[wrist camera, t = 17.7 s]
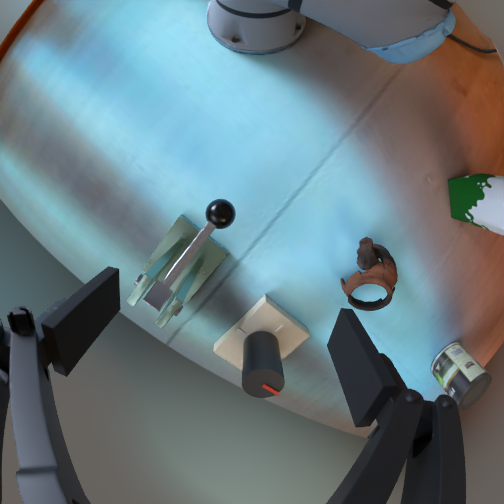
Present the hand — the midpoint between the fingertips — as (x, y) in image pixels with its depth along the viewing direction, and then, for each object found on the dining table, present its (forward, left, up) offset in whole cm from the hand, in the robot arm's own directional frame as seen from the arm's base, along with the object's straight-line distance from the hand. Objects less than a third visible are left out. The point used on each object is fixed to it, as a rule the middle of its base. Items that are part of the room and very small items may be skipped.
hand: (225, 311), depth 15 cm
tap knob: (+3, +19, -23) cm, 31 cm away
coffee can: (-37, +45, -26) cm, 64 cm away
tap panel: (+3, +19, -26) cm, 33 cm away
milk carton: (-41, +6, -26) cm, 49 cm away
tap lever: (+6, 0, -18) cm, 19 cm away
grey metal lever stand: (+10, +2, -26) cm, 28 cm away
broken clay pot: (-17, +12, -26) cm, 34 cm away
